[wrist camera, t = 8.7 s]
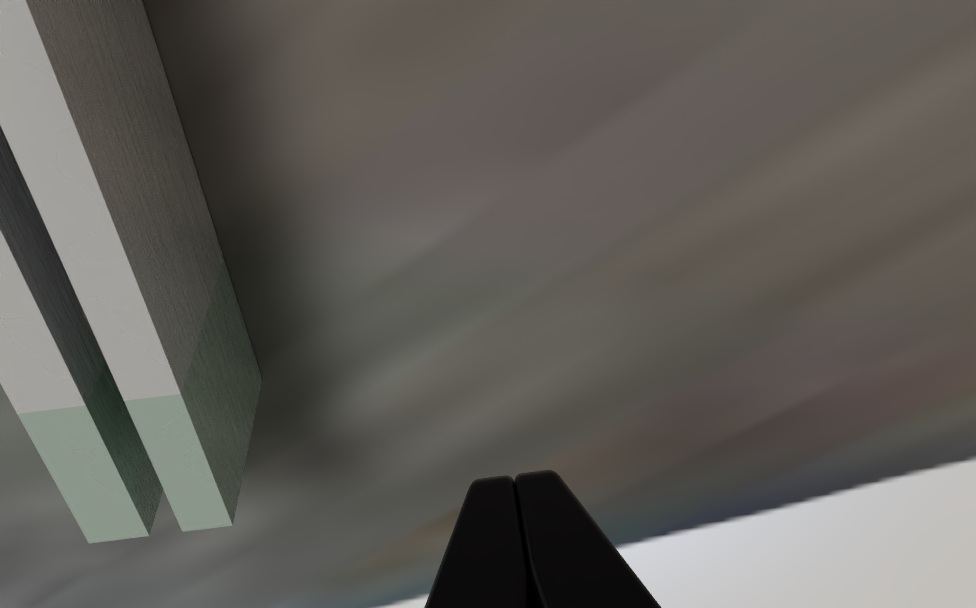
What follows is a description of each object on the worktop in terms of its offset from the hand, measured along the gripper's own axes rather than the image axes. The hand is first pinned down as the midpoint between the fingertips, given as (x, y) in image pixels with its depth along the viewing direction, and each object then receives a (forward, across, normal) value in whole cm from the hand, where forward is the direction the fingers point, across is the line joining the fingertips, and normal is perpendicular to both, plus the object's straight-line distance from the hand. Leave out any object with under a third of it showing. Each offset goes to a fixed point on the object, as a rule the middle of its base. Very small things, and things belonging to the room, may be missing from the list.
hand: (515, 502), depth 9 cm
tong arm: (+10, +6, -4) cm, 13 cm away
